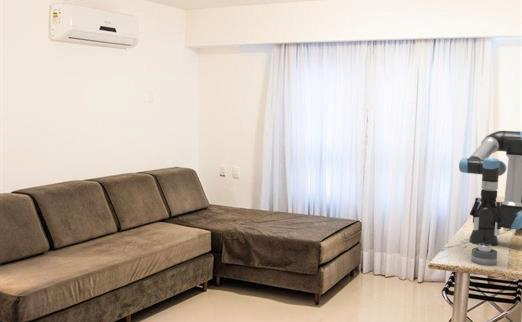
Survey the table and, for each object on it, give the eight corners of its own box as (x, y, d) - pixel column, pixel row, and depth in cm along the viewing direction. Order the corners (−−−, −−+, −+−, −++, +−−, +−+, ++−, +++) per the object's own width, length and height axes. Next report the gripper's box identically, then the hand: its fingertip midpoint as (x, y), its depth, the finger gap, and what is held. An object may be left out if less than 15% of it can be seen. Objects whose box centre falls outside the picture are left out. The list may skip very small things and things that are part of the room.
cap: (483, 254, 296) (483, 241, 296) (493, 257, 291) (494, 244, 290) (475, 255, 293) (476, 243, 292) (485, 258, 288) (486, 245, 287)
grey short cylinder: (481, 257, 301) (482, 246, 300) (501, 263, 291) (502, 251, 290) (466, 260, 294) (466, 248, 294) (486, 266, 284) (487, 254, 284)
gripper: (464, 186, 297) (461, 228, 299) (505, 193, 276) (502, 238, 279) (474, 185, 301) (471, 226, 303) (515, 192, 280) (512, 237, 283)
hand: (486, 232), depth 291 cm, fingers open, 12 cm apart
